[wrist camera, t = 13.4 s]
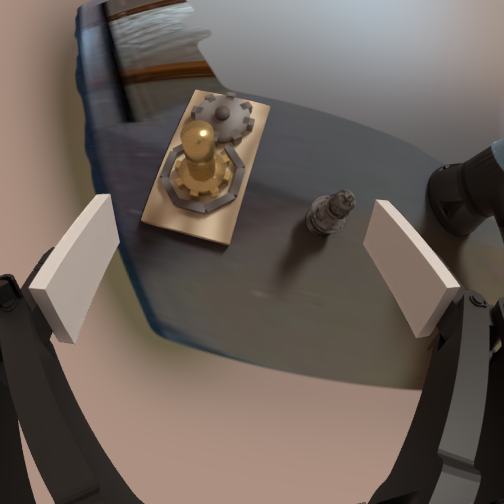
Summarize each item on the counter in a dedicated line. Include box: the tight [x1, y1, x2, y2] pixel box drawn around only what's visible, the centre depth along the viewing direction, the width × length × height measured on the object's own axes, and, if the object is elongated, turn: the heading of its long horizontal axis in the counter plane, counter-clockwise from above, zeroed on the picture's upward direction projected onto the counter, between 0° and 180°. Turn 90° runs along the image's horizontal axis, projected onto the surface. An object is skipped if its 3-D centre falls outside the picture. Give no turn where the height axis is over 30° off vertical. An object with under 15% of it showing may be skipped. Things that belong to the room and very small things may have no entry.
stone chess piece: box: [306, 190, 356, 236], centre depth 39 cm, size 6×6×12 cm
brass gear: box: [174, 120, 231, 200], centre depth 37 cm, size 9×9×12 cm
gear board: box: [141, 90, 270, 246], centre depth 43 cm, size 14×26×4 cm, turn 165°
